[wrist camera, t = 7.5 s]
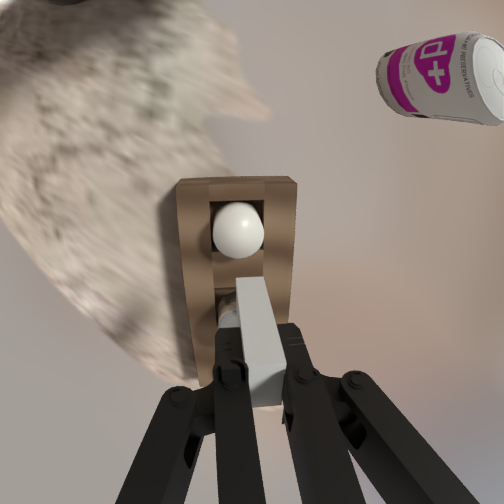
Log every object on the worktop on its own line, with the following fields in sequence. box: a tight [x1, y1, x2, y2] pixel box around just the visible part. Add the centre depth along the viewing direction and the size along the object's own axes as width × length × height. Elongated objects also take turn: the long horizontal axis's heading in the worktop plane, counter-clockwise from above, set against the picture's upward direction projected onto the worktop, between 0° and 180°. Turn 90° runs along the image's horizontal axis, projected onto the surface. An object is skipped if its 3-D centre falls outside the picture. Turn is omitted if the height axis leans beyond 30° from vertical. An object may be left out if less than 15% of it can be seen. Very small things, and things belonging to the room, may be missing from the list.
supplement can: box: [376, 31, 504, 126], centre depth 20 cm, size 8×8×15 cm
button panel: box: [175, 176, 297, 387], centre depth 33 cm, size 26×11×4 cm, turn 0°
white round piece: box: [213, 200, 264, 258], centre depth 28 cm, size 4×4×4 cm
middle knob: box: [218, 291, 238, 329], centre depth 29 cm, size 4×4×4 cm
